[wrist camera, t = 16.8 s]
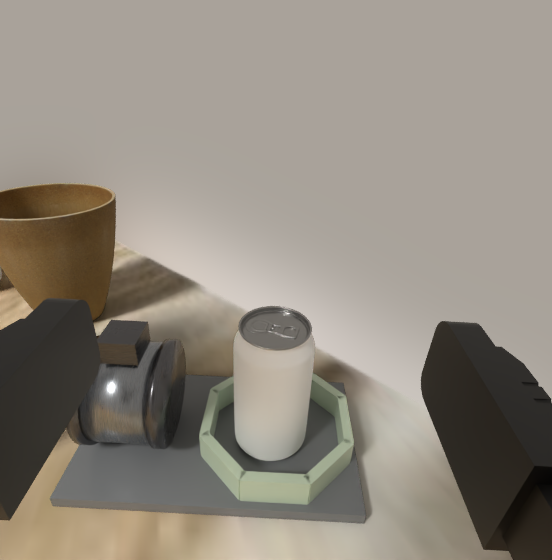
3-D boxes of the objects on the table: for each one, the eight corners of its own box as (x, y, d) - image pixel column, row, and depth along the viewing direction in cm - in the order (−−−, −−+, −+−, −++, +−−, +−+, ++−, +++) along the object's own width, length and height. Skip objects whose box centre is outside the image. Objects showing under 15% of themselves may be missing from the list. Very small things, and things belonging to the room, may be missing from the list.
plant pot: (150, 318, 52) (134, 203, 44) (24, 363, 43) (-24, 230, 36) (111, 276, 62) (92, 175, 54) (2, 305, 53) (-39, 191, 46)
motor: (79, 469, 31) (47, 368, 26) (122, 388, 39) (103, 299, 34) (162, 473, 31) (147, 374, 26) (188, 392, 39) (179, 303, 34)
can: (247, 399, 39) (248, 297, 33) (311, 414, 37) (323, 310, 32) (223, 453, 33) (219, 342, 27) (297, 473, 32) (309, 361, 26)
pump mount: (52, 506, 30) (41, 477, 28) (122, 378, 42) (116, 353, 40) (364, 523, 30) (371, 495, 28) (342, 389, 42) (346, 365, 40)
